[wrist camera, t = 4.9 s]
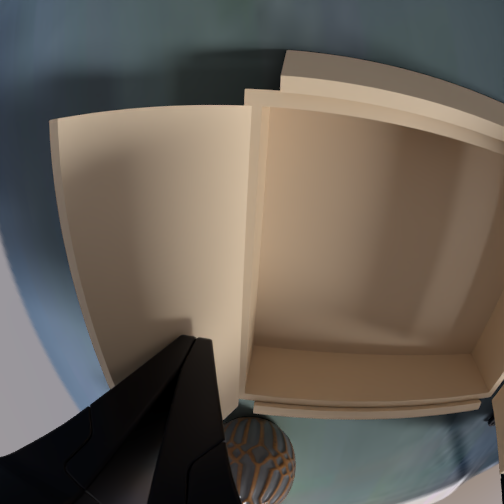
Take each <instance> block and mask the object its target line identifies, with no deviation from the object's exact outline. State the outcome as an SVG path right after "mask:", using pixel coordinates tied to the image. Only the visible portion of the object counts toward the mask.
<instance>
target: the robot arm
mask: <svg viewBox="0 0 504 504" xmlns="http://www.w3.org/2000/svg"><path fill="white" fill-rule="evenodd" d="M488 425H489V426H494V425H495V418H494V416H493V417H492V418H491V419H490V420H489V421H488ZM501 488H502V502H503V504H504V474H501ZM0 504H242V501H241V499H240V496H239V493H238V490H237V487H236V484H235V481H234V478H233V474H232V470H231V465H230V461H229V456H228V450H227V444H226V438H225V432H224V425H223V418H222V412H221V405H220V397H219V390H218V383H217V375H216V367H215V359H214V351H213V342H212V340H211V339H209V338H202V337H198V338H196V337H195V336H189V335H180V336H179V337H178V338H176V339H175V340H174V341H172V342H171V343H170V344H169V345H167V346H166V347H165V348H164V349H162V350H161V351H160V352H158V353H157V354H156V355H155V356H153V357H152V358H151V359H149V360H148V361H147V362H146V363H144V364H143V365H142V366H140V367H139V368H138V369H136V370H135V371H134V372H133V373H131V374H130V375H129V376H127V377H126V378H125V379H123V380H122V381H121V382H120V383H118V384H117V385H116V386H114V387H113V388H112V389H110V390H109V391H108V392H106V393H105V394H104V395H103V396H101V397H100V398H99V399H97V400H96V401H95V402H93V403H92V404H91V405H90V407H89V406H88V407H86V408H85V409H84V410H82V411H81V412H80V413H78V414H77V415H76V416H74V417H73V418H71V419H70V420H68V421H67V422H66V423H64V424H63V425H61V426H59V427H58V428H56V429H55V430H53V431H51V432H50V433H48V434H46V435H44V436H43V437H41V438H39V439H37V440H35V441H34V442H32V443H30V444H28V445H26V446H24V447H23V448H21V449H19V450H17V451H15V452H13V453H11V454H9V455H6V456H3V457H0Z"/></svg>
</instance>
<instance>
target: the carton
mask: <svg viewBox="0 0 504 504" xmlns="http://www.w3.org/2000/svg"><path fill="white" fill-rule="evenodd" d="M244 106H252V112H251V131H250V150H249V170H248V190H247V211H246V232H245V254H244V276H243V300H242V324H241V348H240V374H239V399H245V400H253V401H255V402H254V409H253V413H256V414H264V415H274V416H285V417H298V418H315V419H393V418H410V417H422V416H433V415H442V414H450V413H458V412H464V411H471V410H477V409H479V406H480V404H481V401H480V400H479V399H481V398H487V397H491V396H492V394H493V393H494V392H495V390H496V389H497V388H498V386H499V385H500V384H501V382H502V381H503V379H504V104H503V103H501V102H499V101H496V100H494V99H492V98H489V97H487V96H485V95H482V94H480V93H477V92H475V91H472V90H469V89H467V88H464V87H461V86H458V85H456V84H453V83H450V82H447V81H444V80H441V79H438V78H434V77H431V76H428V75H424V74H421V73H417V72H414V71H410V70H406V69H402V68H398V67H394V66H390V65H386V64H381V63H376V62H372V61H366V60H361V59H356V58H350V57H344V56H337V55H330V54H323V53H315V52H305V51H295V50H287V51H286V55H285V60H284V64H283V68H282V72H281V82H280V91H277V90H261V89H245V96H244Z"/></svg>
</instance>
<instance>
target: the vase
mask: <svg viewBox="0 0 504 504" xmlns="http://www.w3.org/2000/svg"><path fill="white" fill-rule="evenodd" d="M224 432H225V438H226V444H227V450H228V456H229V461H230V465H231V470H232V474H233V478H234V481H235V484H236V487H237V490H238V493H239V496H240V499H241V501H242V504H280V503H281V502H282V501H283V500H284V499H285V498H286V496H287V495H288V493H289V491H290V489H291V486H292V484H293V481H294V477H295V469H296V461H295V453H294V449H293V446H292V444H291V442H290V440H289V438H288V436H287V435H286V434H285V433H284V432H283V431H282V430H281V429H280V428H279V427H278V426H276V425H275V424H274V423H272V422H270V421H268V420H265V419H261V418H255V417H242V418H237V419H234V420H232V421H230V422H228V423H225V424H224Z"/></svg>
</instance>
